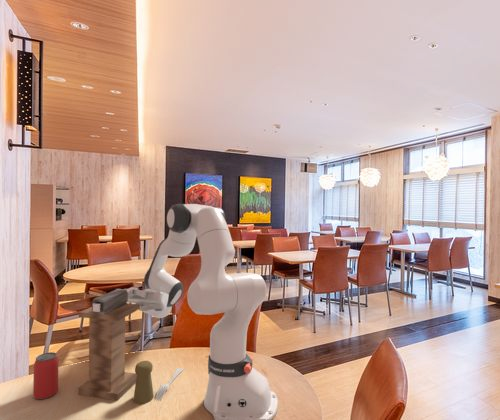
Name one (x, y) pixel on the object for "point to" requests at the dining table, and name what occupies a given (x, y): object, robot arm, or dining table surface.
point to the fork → (168, 383)
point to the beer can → (45, 376)
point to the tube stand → (108, 347)
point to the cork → (143, 383)
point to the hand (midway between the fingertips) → (130, 291)
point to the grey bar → (99, 305)
